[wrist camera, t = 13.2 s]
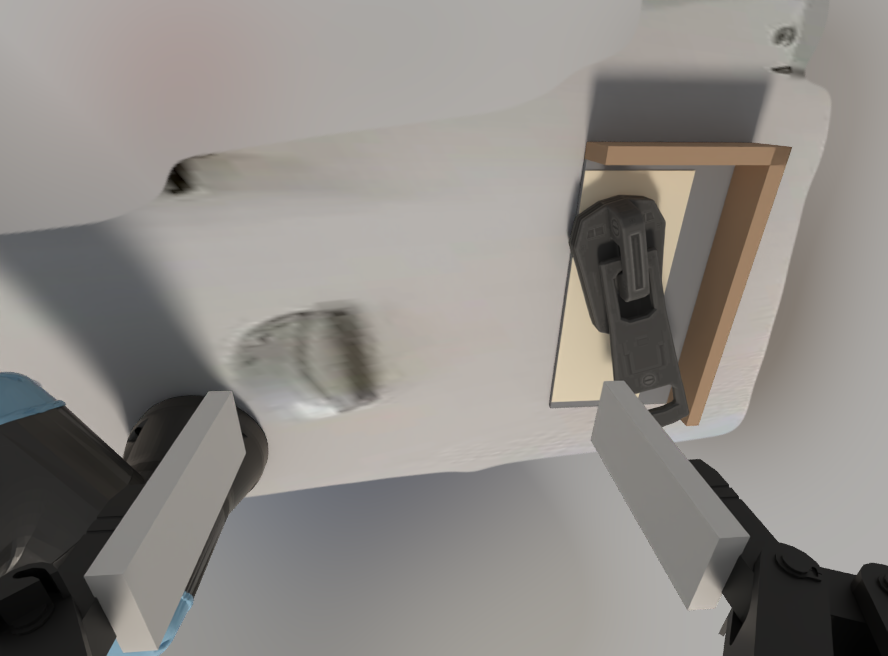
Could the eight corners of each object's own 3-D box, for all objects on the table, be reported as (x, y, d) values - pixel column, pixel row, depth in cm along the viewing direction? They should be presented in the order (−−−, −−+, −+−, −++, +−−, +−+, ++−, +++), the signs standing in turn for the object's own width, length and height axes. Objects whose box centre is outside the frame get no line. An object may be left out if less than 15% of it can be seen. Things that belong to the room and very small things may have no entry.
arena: (549, 405, 56) (561, 431, 51) (586, 141, 42) (608, 146, 37) (675, 400, 57) (698, 425, 52) (752, 142, 43) (792, 146, 39)
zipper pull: (616, 441, 49) (588, 227, 38) (594, 405, 55) (563, 210, 44) (696, 419, 49) (691, 196, 37) (664, 385, 55) (652, 183, 43)
